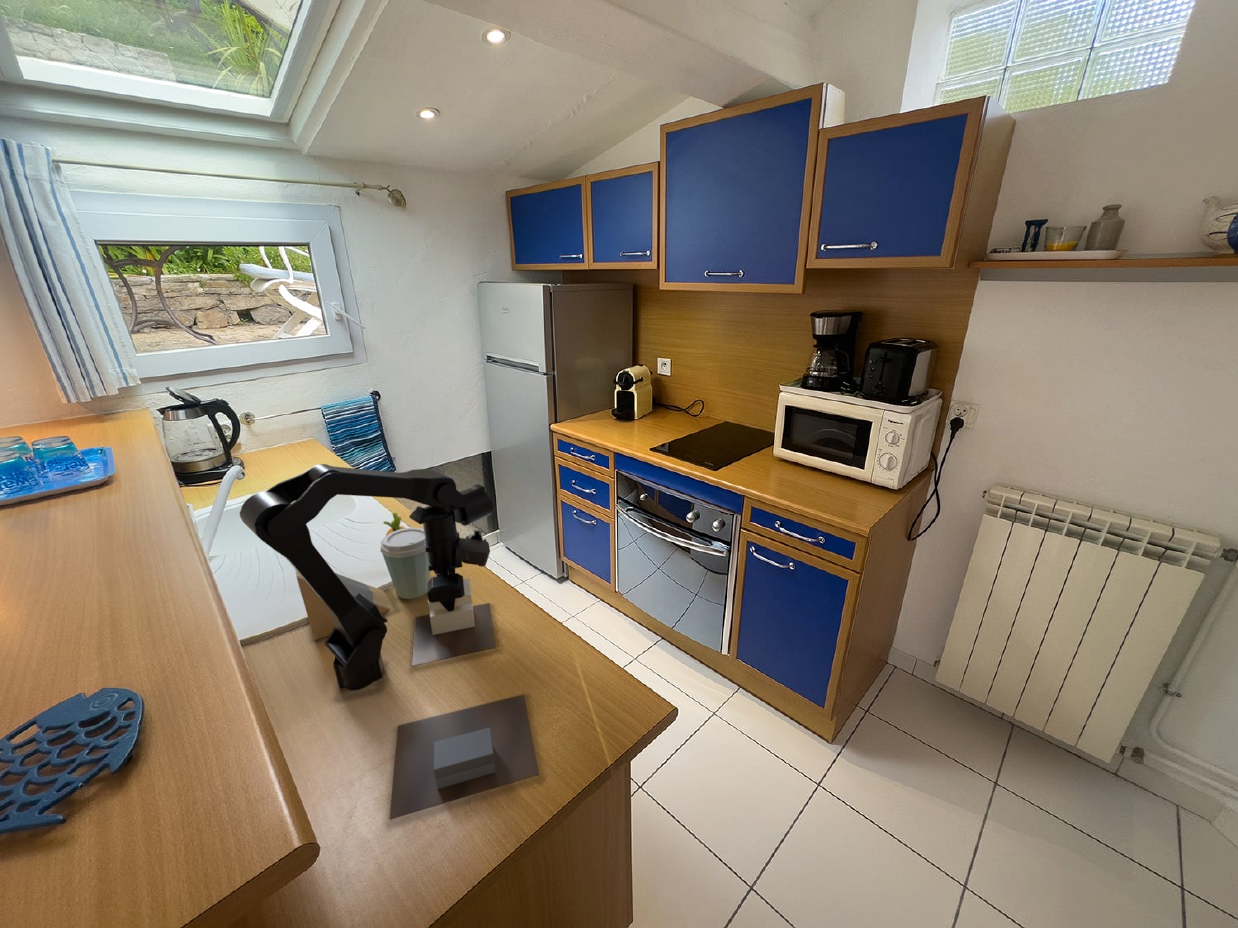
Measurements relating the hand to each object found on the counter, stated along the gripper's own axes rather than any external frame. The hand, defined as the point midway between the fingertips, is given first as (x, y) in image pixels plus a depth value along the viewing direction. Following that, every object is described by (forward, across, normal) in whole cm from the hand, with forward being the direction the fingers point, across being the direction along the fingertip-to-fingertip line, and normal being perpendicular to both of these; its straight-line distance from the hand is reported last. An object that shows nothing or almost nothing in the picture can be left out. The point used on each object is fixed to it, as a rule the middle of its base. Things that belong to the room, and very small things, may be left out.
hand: (450, 601), depth 99 cm
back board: (+6, -3, 0) cm, 7 cm away
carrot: (+6, +24, +11) cm, 27 cm away
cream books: (+5, 0, 0) cm, 5 cm away
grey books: (+5, -33, -1) cm, 33 cm away
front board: (+6, -30, -1) cm, 31 cm away
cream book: (-1, 0, 0) cm, 1 cm away
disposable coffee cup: (+6, +14, +8) cm, 17 cm away
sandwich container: (+6, +10, +20) cm, 23 cm away
